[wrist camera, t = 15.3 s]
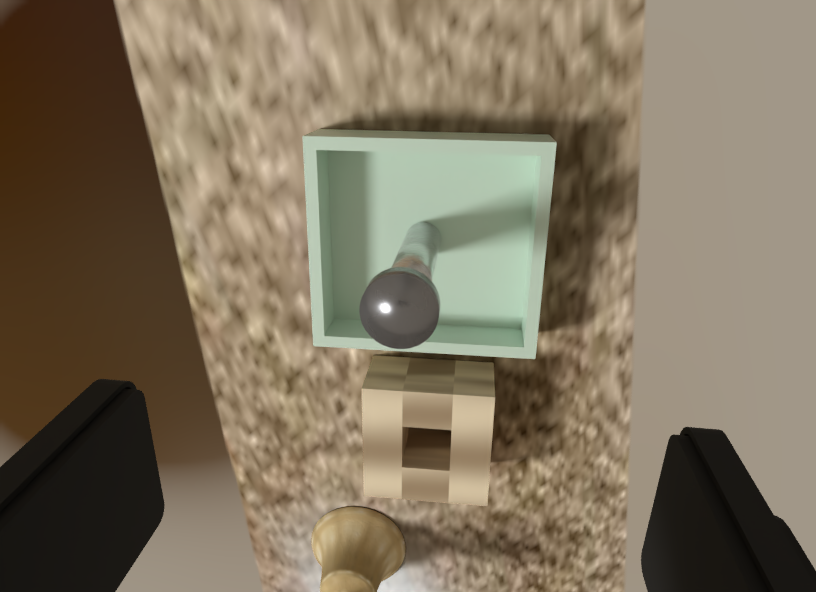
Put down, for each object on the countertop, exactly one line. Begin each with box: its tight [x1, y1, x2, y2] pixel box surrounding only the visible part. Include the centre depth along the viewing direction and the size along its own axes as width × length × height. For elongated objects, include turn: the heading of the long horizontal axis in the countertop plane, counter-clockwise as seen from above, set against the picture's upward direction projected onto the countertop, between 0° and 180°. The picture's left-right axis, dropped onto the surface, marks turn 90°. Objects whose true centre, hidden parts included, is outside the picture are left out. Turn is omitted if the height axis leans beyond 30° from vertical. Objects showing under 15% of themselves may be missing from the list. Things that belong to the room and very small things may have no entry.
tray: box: [303, 129, 557, 359], centre depth 40 cm, size 14×15×4 cm
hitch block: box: [362, 355, 495, 506], centre depth 45 cm, size 9×9×5 cm
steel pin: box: [359, 222, 441, 349], centre depth 35 cm, size 4×4×13 cm
